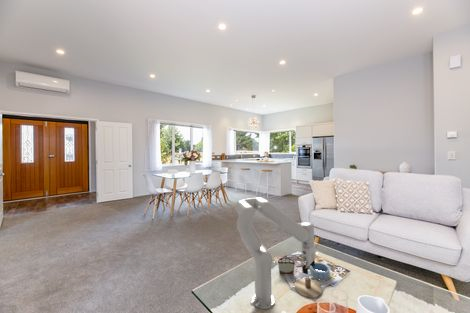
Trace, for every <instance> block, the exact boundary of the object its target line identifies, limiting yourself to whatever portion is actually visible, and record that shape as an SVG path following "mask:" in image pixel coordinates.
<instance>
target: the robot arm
mask: <svg viewBox="0 0 470 313" xmlns="http://www.w3.org/2000/svg"><path fill="white" fill-rule="evenodd" d="M234 209H235V212H236V213H237V215H238V218H237V221H236V228H237V231H238V232H239V235H240V239H241V241H242V243H243V245H244V247H246V249H247V251H248V253H249V254H250V255H251V257H252V258H253V260H254V263H255V267H254V295H253V296H252V301H251V302H250V306H251V307H254V306H255V307H256V308H258V309H261V310H268V309H271V308H272V307H274V305H275V297H274V295H273V292H272V264H273V257H272V253H271V252H270V250H268V248H267V247H266V246H265V245H264V244H263V242H262V238H261V237H260V235H259V234H258V231H256V229H255V226H254V225H253V220H254V217H255V215H256V214H255V212H258V213H259V214H260V215H262V216H264V218H265V219H267V220H269V221H270V222H272V224H274V225H275V226H277V227H278V228H280V229H282V230H283V231H285V233H286V232H287V233H288V235H290V236H291V237H292V238H294V239H296V240H297V241H298V242H300V243H301V246H302V247H301V262H300V264H301V268H302V270H301V271H302V273H303V274H305V275H308V274H309V270H308V269H309V268H308V266H309V267H310V266H313V267H315V263H316V261H315V259H317V253H316V247H315V225H314V224H313V223H312V222H310V221H303V222H296V221H295V220H294V219H292V218H291V217H290V216H289V215H287V214H286V213H285V212H284V211H283V210H281V209H280V208H278V206H276V205H274V204H273V203H272V202H271V201H269V200H267V199H266V198H265V197H259V196H258V197H252V198H251V197H250V198H244V199H240V200H237V202H236V203H235V205H234Z"/></svg>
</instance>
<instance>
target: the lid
mask: <svg viewBox="0 0 470 313" xmlns="http://www.w3.org/2000/svg"><path fill="white" fill-rule="evenodd" d="M304 278H305V279H300V278H299V279H298V280H296V281H295V282H294V285H295V290H296V291H297V292H298V293H299V295H300V296H302V297H304V296H305V297H304V298H306V297H308V298H316V297H319V296H320V297H321V295H322V294H323V293H322V288H321V286H322V285H321V284H319V283H318V282H317V281H315V280H312V279H311V278H310V277H304ZM320 285H321V286H320ZM298 293H297V294H298ZM320 297H319V298H320ZM308 298H307V299H308Z"/></svg>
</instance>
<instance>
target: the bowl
mask: <svg viewBox="0 0 470 313" xmlns="http://www.w3.org/2000/svg"><path fill="white" fill-rule="evenodd" d="M309 268H310V269H309V270H310V271H309V273H311V274H310V276H311V275H312V276H313V277H314V278H316V279H315V280H317V279H320V280H325V281H327V280H326V279H328V278H329V277H331V276H330V275H331V271H330V266H328V265H327V264H325V263H322V262H316V261H315V267H313V266H310V265H309ZM315 269H318V270H322V271H325V272H318V271H316V270H315ZM312 276H311V277H312ZM313 277H312V278H313ZM314 278H313V279H314ZM329 279H330V278H329ZM329 279H328V280H329ZM320 280H319V281H320Z"/></svg>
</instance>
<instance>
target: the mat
mask: <svg viewBox="0 0 470 313" xmlns="http://www.w3.org/2000/svg"><path fill="white" fill-rule="evenodd" d="M321 288H322V294H323V293H324V291H325V290H326V289H327V288H326V287H325V286H323V287H321ZM289 291H292V292H294V293H296V294H299V293H298V292H297V291H296V290H295V287H293V286H291V288H290V290H289ZM299 295H300V294H299ZM303 297H304V298H306V299H308V300H310V301H312V302H314V303H316V302H317V301H318V300H319V298H320V297H321V295H320V296H319V297H316V298H308V297H305V296H303Z"/></svg>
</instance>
